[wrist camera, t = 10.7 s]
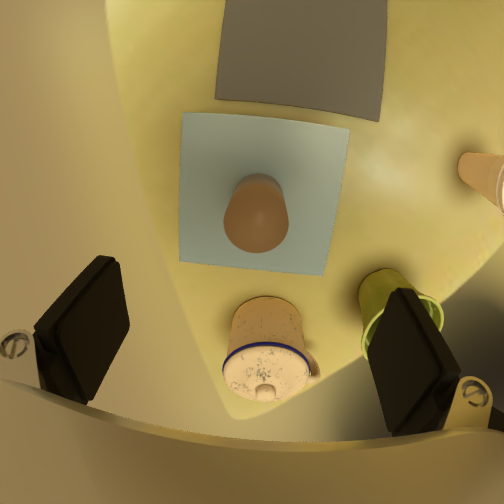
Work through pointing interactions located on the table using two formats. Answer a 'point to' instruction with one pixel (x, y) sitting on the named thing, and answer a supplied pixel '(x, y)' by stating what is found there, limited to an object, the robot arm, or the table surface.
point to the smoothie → (484, 175)
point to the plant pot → (376, 297)
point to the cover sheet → (264, 153)
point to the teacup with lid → (268, 352)
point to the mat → (305, 54)
